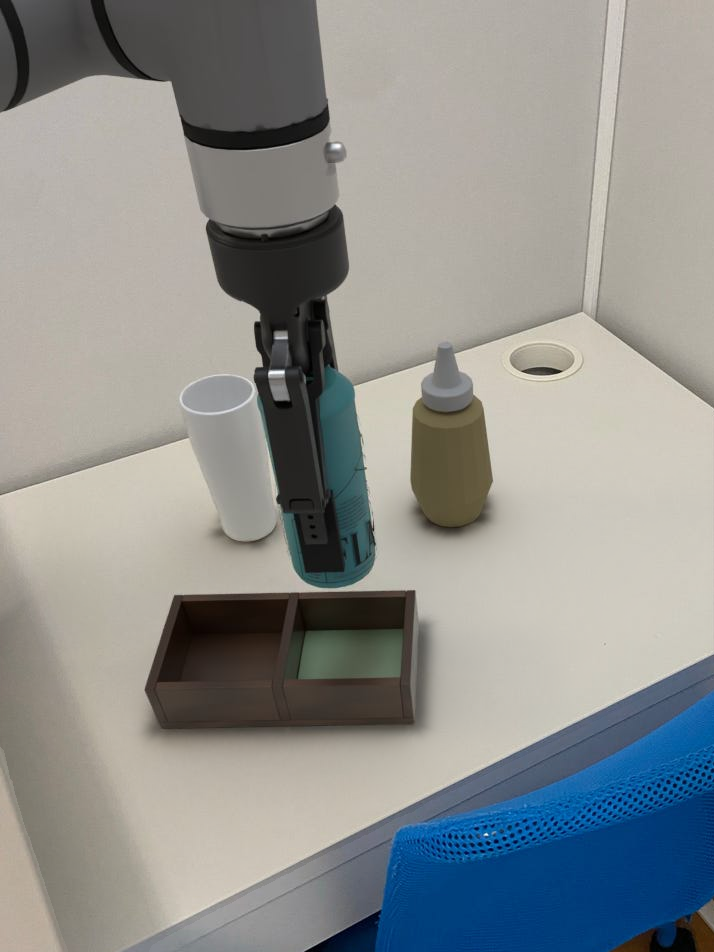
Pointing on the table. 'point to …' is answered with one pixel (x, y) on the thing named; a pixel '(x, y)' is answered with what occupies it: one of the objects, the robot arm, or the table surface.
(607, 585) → the table surface
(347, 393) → the beverage bottle
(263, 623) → the divided box
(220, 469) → the drinking glass
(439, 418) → the squeeze bottle
